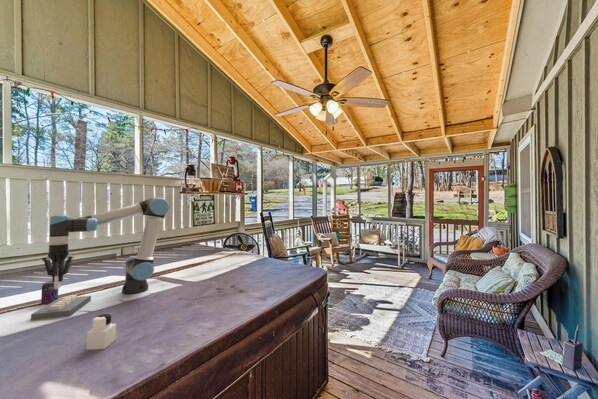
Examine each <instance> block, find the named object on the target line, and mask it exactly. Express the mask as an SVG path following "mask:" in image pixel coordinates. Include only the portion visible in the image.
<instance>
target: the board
mask: <svg viewBox="0 0 598 399" xmlns="http://www.w3.org/2000/svg"><path fill="white" fill-rule="evenodd" d="M63 298H64V297H62V298H60V297H58V299H57V300H55V301H53V302H52V303H50V304H45V306H43V307H41V308H39V309H38V310H36V311H35V312H33V313H31V315H30V321H36V320H44V319H54V318H55V319H56V318H64V317H70V316H72V315H74V314H75V313H76V312H77V311H79V310H80V309H81V308H83V307H84V306H86V305H87V304H89V303H90V302H91V301H92V295H84V296H77V299H76V300H74V301H71V303H70V304H68V305H65V307H63V308H62V309H60V310H52V311H49V307H50V306H51V305H53V304H55V303H57V302H58V301H60V300H62V299H63Z"/></svg>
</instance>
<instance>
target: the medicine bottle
mask: <svg viewBox="0 0 598 399" xmlns="http://www.w3.org/2000/svg"><path fill="white" fill-rule="evenodd" d="M116 339H117V323H112V314H109V313H103V314H99V315H96V316H95V317H93V319H92V328H91V329H90V330H88V331H87V332H86V344H85V345H86V348H85V349H86V350H87V351H90V350H91V351H92V350H94V351H95V350H105V349H106V348H107V347H109V346H110V345H111V344H113V343H114V342H115V341H116Z"/></svg>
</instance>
